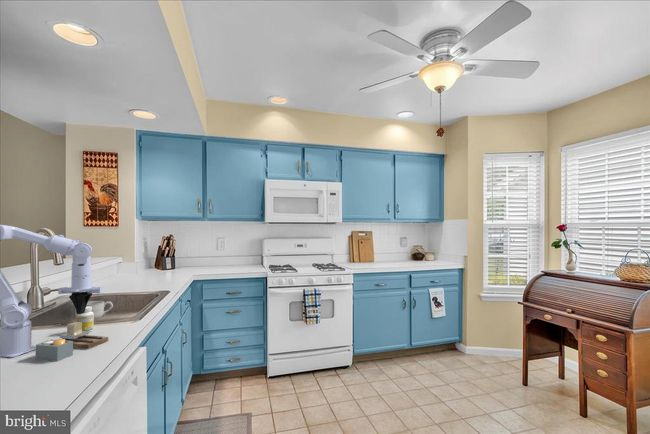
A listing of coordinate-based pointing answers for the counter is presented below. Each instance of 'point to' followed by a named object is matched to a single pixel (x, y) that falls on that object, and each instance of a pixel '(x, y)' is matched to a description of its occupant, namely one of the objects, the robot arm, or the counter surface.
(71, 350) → the gauge box
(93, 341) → the rail track
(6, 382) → the counter surface
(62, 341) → the button
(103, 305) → the teacup
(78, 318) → the supplement bottle
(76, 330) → the carriage
